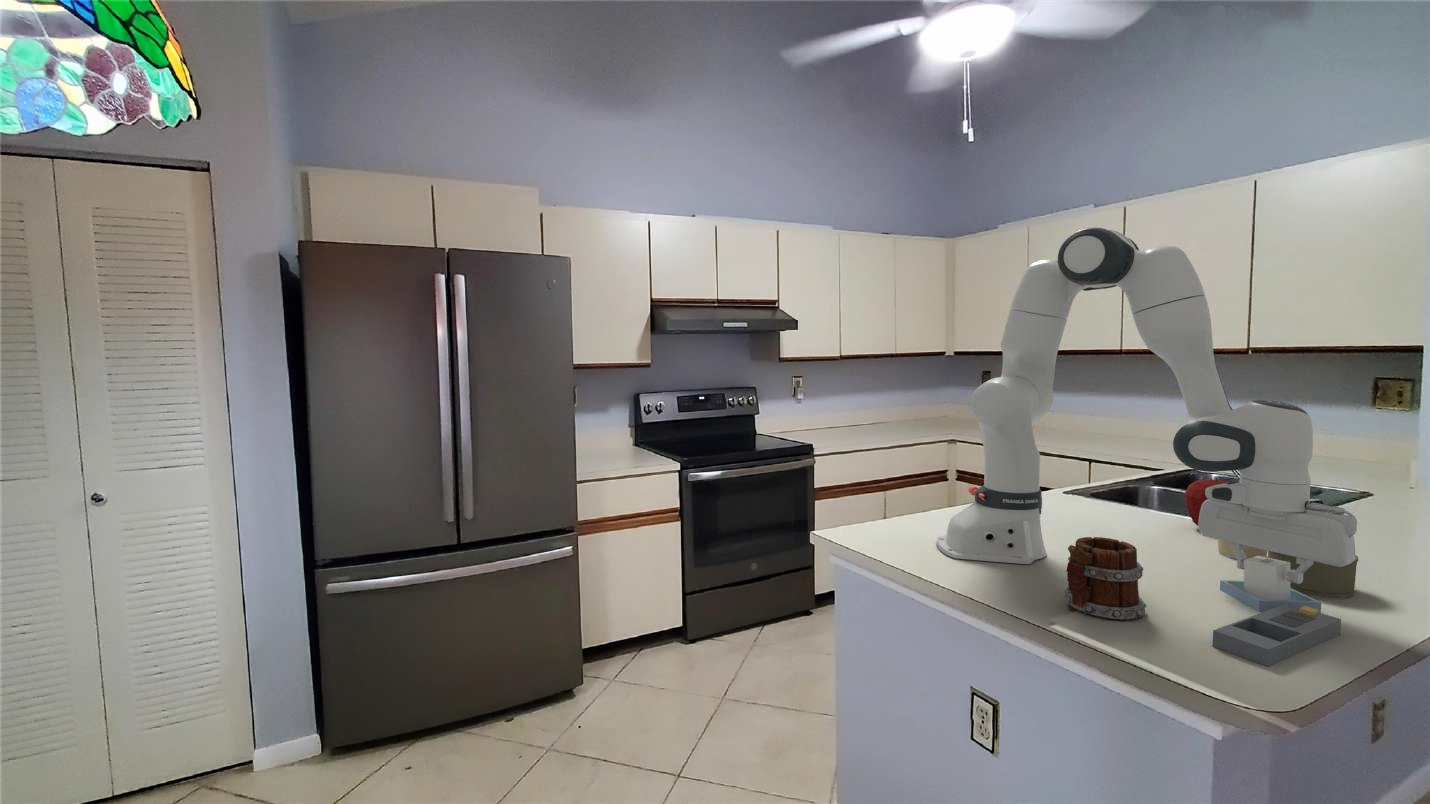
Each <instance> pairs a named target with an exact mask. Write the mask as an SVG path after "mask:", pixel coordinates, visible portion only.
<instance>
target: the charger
mask: <svg viewBox="0 0 1430 804" xmlns="http://www.w3.org/2000/svg"><path fill="white" fill-rule="evenodd" d="M1287 571H1290V562H1286V561H1281V560H1276V559H1271V558H1268V557H1267V556H1266V557H1261V556H1255V557H1252V558H1249V559H1245V560H1244V570H1243V581H1244V591H1246V592H1248V593H1249V594H1251V595H1253V596H1255V597H1257V598H1259V599H1268V600H1290V582H1289V581H1287V577H1288V576H1287Z"/></svg>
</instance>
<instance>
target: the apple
mask: <svg viewBox="0 0 1430 804" xmlns="http://www.w3.org/2000/svg"><path fill="white" fill-rule="evenodd" d="M1227 483H1231V482H1230V481H1226V480H1225V481H1224V480H1219V479H1218V478H1217V477H1216V476H1215V479H1199V480H1195V481H1194V482H1192V483H1191V484H1189V485H1188V486H1187V488H1186V490H1185V491H1184V496H1185V498H1184V499H1185V507H1186V509H1187V511H1188V513H1189V516H1190V518H1191V520H1192V523H1194V525H1196V526H1197V527H1198V524H1199V515H1200V510H1201V506H1202V504H1203V502H1204V501H1206V500H1208V499H1209V498H1207V497H1206V495H1205V492H1206V491H1205V490H1206V488H1208V487H1210V486H1214V485H1219V484H1227Z"/></svg>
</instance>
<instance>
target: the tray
mask: <svg viewBox="0 0 1430 804" xmlns="http://www.w3.org/2000/svg"><path fill="white" fill-rule="evenodd" d="M1219 590H1220V591H1221V592H1222V593H1224V594H1226V595H1228V596H1230V597H1232V598H1234V599H1235V600H1237V601H1239V602H1241V603H1243V604H1244V605H1247V606H1248V607H1250V608H1252V609H1253V610H1255V611H1257V612H1259V613H1262V612H1265V611H1267V610H1270V609H1273V608H1275V607H1278V606H1281V605H1284V604H1286V603H1287V604H1291V605H1294V606H1298V607H1304V606H1307V607H1311V608H1314V609H1318V610H1319V613H1322V612H1321V611H1322V602H1321V601H1319V600H1318V599H1315V598H1312V597H1310V595H1306V594H1302V593H1300V592H1298V591H1296V590H1294V589H1292V588H1290V600H1268V599H1259V598H1257V597H1255V596H1253V595H1251V594H1249V593H1248V592H1246V591H1244V580H1239V579H1238V580H1235V579H1233V580H1232V579H1231V580H1230V579H1220V581H1219Z"/></svg>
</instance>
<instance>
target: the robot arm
mask: <svg viewBox="0 0 1430 804" xmlns="http://www.w3.org/2000/svg"><path fill="white" fill-rule="evenodd" d="M1115 287H1118V288H1120V289H1121V290H1122V291H1123V292H1124V294H1125V295H1126V298H1127V301H1128V303H1129V306H1130V310H1131V314H1132V318H1133V321H1134V323H1135V327H1136V329H1137V332H1138V333H1139V335H1140V338H1141V339H1142V341H1143V343H1144V345H1145V346H1146V348H1147V349H1148V350H1150V351H1151V352H1152V353H1153V354H1155V355H1156V356H1157V357H1159V358H1160V359H1162V360H1163V361H1164V362H1165V363H1166V364H1167V365H1168V367H1170V369H1171V370H1172V372H1173V374H1174V376H1175V378H1176V380H1177V383H1178V386H1179V389H1180V392H1181V395H1182V399H1183V401H1184V404H1185V408H1186V410H1187V413H1188V416H1187V417H1188V418H1187V419H1188V420H1187V423H1185V424H1184V425H1183V426H1182V427H1180V428H1179V429H1178V430H1177V431H1176V433H1175V435H1174V436H1173V440H1172V441H1173V442H1172V448H1173V452H1174V454H1175V457H1177V459H1178V460H1179V461H1180V462H1181V463H1183V464H1184V465H1185V466H1186V467H1188V468H1190V469H1193V470H1195V471H1199V472H1205V473H1216V472H1229V471H1231V472H1232V471H1238V472H1239V481H1233V482H1230V483H1227V484H1219V485H1214V486H1210V487H1208V488H1206V490H1205V491H1206V492H1205V495H1206V497H1207V498H1209V499H1208V500H1206V501H1204V502H1203V504H1202V506H1201V510H1200V515H1199V524H1198V526H1197V527H1198V530H1199V532H1200V533H1201V535H1202V536H1204V537H1208V538H1212V539H1215V540H1218V539H1220V540H1224V541H1228V542H1230V549H1231V550H1232V552H1233V554H1234V555H1235V557H1236V558H1237V559H1236V568H1237V569H1240V570H1243V571H1244V560H1245V559H1248V558H1247V557H1246V555H1245V553H1244V551H1243V548H1246V546H1250V547H1254V548H1259V549H1263V550H1267V552H1268V551H1272V552H1276V553H1280V554H1285V555H1289V556H1293V557H1296V563H1297V564H1301V565H1300V566H1299V567H1298V568H1297V569H1296V570H1290V571H1287V576H1288V577H1287V581H1289V582H1293V583H1296V584H1300V583H1302V582H1303V573H1304V572H1305V571H1307V570H1308V569H1309V568H1310V567H1311V566H1312V565H1313V561H1315V562H1319V563H1324V564H1328V565H1332V566H1337V567H1342V566H1346V565H1348V564H1350V563H1352V562H1353V561H1354V560H1355V555H1356V543H1355V536H1354V535H1355V534H1356V533H1357V527H1358V526H1357V525H1358V520H1357V518H1356V516H1355V515H1354V514H1353V513H1351V512H1350V511H1349V510H1348V511H1347V510H1346V508H1344V507H1341V506H1335V505H1333V506H1331V505H1326V504H1322V503H1317V502H1312V501H1311V497H1310V496H1311V477H1310V474H1309V465H1310V463H1311V460H1312V458H1313V451H1314V449H1313V448H1314V435H1313V434H1314V433H1313V432H1314V430H1313V423H1312V418H1311V417H1310V415H1309V413H1308V412H1307V411H1306V410H1304V409H1303V408H1302V407H1299V406H1297V405H1295V404H1290V403H1287V402H1286V403H1285V402H1281V401H1274V400H1266V399H1255V400H1251V401H1249V402H1248V403H1246V404H1244V405H1242V406H1239V407H1237V408H1234V409H1233V408H1232V406H1231V405H1230V402H1229V400H1228V396H1227V395H1226V391H1225V388H1224V385H1223V383H1222V380H1221V376H1220V373H1219V371H1218V367H1217V365H1216V361H1215V360H1216V359H1215V354H1214V345H1213V344H1214V342H1213V330H1212V321H1211V320H1212V319H1211V314H1210V309H1209V305H1208V301H1207V298H1206V293H1205V291H1204V287H1203V285H1202V282H1201V281H1200V278H1199V275H1198V274H1197V271H1196V269H1195V267H1194V266H1193V264H1192V262H1191V261H1190V259H1189V257H1188V255H1187V253H1186V252H1185V251H1184V250H1182V249H1181V248H1179V247H1176V246H1171V245H1161V246H1159V245H1158V246H1154V247H1150V248H1147V249H1143V250H1140V249H1139V247H1138V245H1137V244H1136V243H1135V241H1133V240H1132V239H1131V238H1129V237H1127V236H1126V235H1125V234H1123V233H1120V231H1117V230H1112V229H1106V228H1103V227H1097V226H1096V227H1095V226H1094V227H1087V228H1082V229H1080V230H1078V231H1076V232H1074V233H1072V234H1071V235H1069V236H1068V237H1067V238H1066V239H1065V240H1064V241H1063V243H1062V244H1061V245H1060V247H1059V250H1058V252H1057V259H1049V258H1048V259H1040V260H1038V261H1035V262H1032V263H1031V264H1030V265H1028V266H1027V268H1026V269H1025V271H1024V272H1023V275H1022V276H1021V279H1020V281H1019V283H1018V286H1017V288H1016V291H1015V293H1014V296H1013V299H1012V302H1011V306H1010V309H1009V312H1008V316H1007V320H1006V323H1005V326H1004V330H1003V334H1002V337H1001V341H1000V347H1001V351H1002V366H1001V367H1002V370H1001V376H999V377H994V378H990V379H989V380H987V381H985V382H983V383H982V384H981V385H979V386H978V387H977V388H976V389H975V390H974V391H973V393H972V395H971V397H970V410H971V413H972V415H973V417H974V418H975V419H976V421H977V422H978V427H979V431H980V436H981V440H982V441H981V442H982V447H983V454H984V455H983V457H984V469H983V471H984V472H983V473H984V474H983V475H984V477H983V478H984V479H983V480H984V481H983V483H984V484H983V485H982V486H980V487H979V488H978V487H977V486H975V485H969V487H968V489H967V490H968V493H969V494H970V495H971V496H974V502H973V503H971V504H969V505H968V506H967V507H965V508H964V509H963V510H961V511H959V512H958V513H955V515H953V516H952V517H950V520H949V522H948V526H947V531H946V535H940V536H938V537H937V538H936V547H937V548H938V549H939V550H940V551H941V552H942V553H943V554H945V555H946V556H949V557H951V558H954V559H958V560H960V559H961V560H970V561H972V560H973V561H982V562H983V561H984V562H994V563H1007V564H1019V565H1030V564H1033V562H1034V561H1036V560H1039V559H1043V558H1045V557H1046V556H1047V555H1048V554H1047V550H1046V546H1045V543H1044V538H1043V533H1042V525H1041V514H1042V509H1043V497H1042V492H1043V491H1042V489H1041V488H1040V487H1041V486H1040V485H1041V484H1040V482H1041V480H1040V479H1041V454H1040V453H1041V452H1040V451H1039V449H1038V448H1037V445H1036V441H1035V435H1034V429H1033V423H1034V422H1037V421H1039V420H1040V419H1042V418H1043V417H1044V416H1045V415H1046V414H1047V413H1048V412H1049V411H1050V409H1052V406H1053V405H1054V403H1053V402H1054V393H1053V389H1054V383H1055V382H1054V380H1055V370H1056V364H1057V363H1056V362H1057V361H1056V360H1057V356H1058V351H1059V349H1060V345H1061V341H1062V338H1063V334H1064V332H1065V327H1066V325H1067V321H1068V317H1069V314H1070V311H1071V308H1072V304H1073V301H1074V299H1075V298H1076V296H1077V295H1078V294H1079V293H1080V292H1082V291H1083V292H1088V291H1095V290H1105V289H1106V290H1107V289H1111V288H1115Z"/></svg>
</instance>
